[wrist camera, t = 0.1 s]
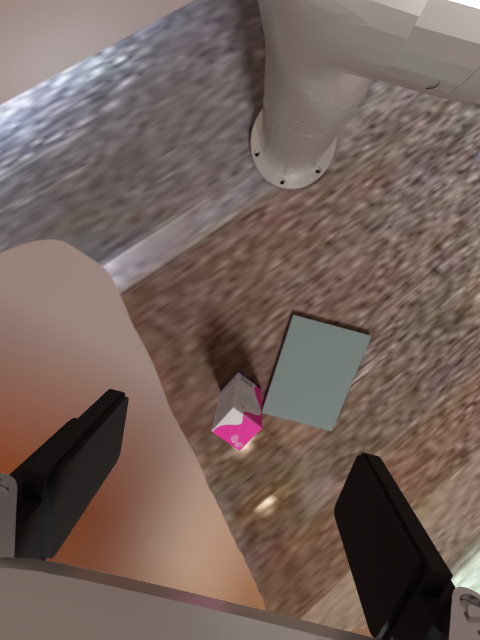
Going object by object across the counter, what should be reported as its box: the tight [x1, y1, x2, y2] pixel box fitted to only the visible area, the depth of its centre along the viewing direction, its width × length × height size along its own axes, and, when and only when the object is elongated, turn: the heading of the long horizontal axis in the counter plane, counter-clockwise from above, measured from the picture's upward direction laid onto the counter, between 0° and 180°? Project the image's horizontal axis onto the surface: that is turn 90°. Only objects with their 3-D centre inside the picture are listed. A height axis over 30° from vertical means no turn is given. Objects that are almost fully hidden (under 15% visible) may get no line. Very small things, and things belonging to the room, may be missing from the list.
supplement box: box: [212, 372, 262, 450], centre depth 45 cm, size 6×6×12 cm
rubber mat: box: [262, 314, 371, 431], centre depth 48 cm, size 20×14×1 cm
